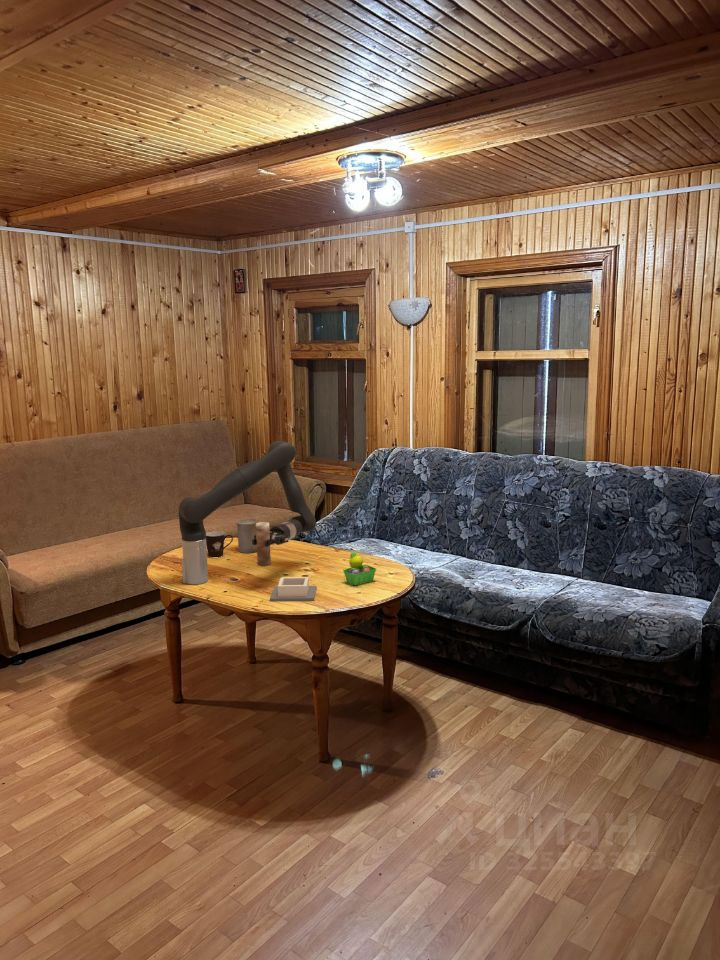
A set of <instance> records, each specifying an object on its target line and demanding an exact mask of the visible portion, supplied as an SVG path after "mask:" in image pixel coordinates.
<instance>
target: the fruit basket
mask: <svg viewBox="0 0 720 960" xmlns="http://www.w3.org/2000/svg"><path fill="white" fill-rule="evenodd" d="M349 555H350V558H349V563H348V564H349V566H350V567H349V568H345V569H343V570H342V571H343V574H344V577H345V580H346V583H348V584H350V585H352V586H358V585H361V584H366V583H371V582H373V581H374V577H375V574H376V571H377V568H376V567H373V566H371V565H368V564H363V563H364V559H363V557H361V556H360V554H359V553H357V552H356V551H354V552H351V553H350V554H349Z"/></svg>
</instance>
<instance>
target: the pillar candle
mask: <svg viewBox="0 0 720 960" xmlns="http://www.w3.org/2000/svg"><path fill="white" fill-rule="evenodd" d="M258 522H260V521H259V520H258V519H256V518H244V519H240V520H237V522H236V526H237V527H236V528H237V541H238V543H237V545H238V546H237V547H238V552H239V553H241V552H242V554H253V553H257V544H256V545H253V544H252V540H253V539H254V535H255V534H256V523H258Z"/></svg>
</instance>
